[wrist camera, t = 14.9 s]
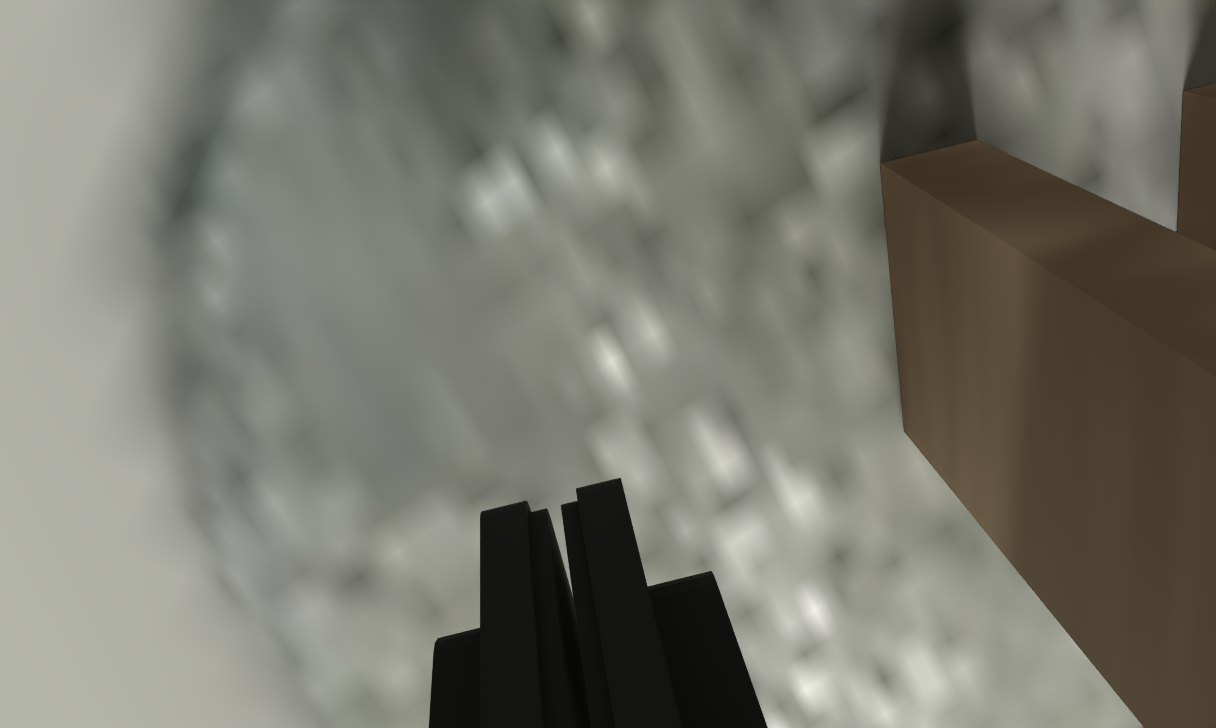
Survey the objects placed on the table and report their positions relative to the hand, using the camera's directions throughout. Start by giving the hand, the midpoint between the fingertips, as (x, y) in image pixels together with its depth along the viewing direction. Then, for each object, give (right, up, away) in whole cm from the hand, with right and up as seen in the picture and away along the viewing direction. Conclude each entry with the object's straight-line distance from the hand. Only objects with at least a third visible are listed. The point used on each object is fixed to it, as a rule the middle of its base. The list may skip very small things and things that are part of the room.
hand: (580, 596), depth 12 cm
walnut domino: (+6, +4, +5) cm, 9 cm away
